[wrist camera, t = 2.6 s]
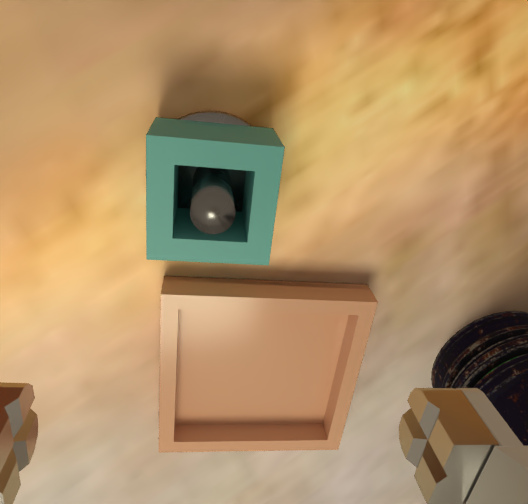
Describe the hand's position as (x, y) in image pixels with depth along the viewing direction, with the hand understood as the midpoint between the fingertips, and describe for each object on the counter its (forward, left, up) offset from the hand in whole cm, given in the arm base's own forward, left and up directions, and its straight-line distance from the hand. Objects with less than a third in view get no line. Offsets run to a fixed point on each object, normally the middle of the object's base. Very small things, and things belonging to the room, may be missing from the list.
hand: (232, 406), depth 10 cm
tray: (-4, +13, -17) cm, 22 cm away
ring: (0, 0, -16) cm, 17 cm away
